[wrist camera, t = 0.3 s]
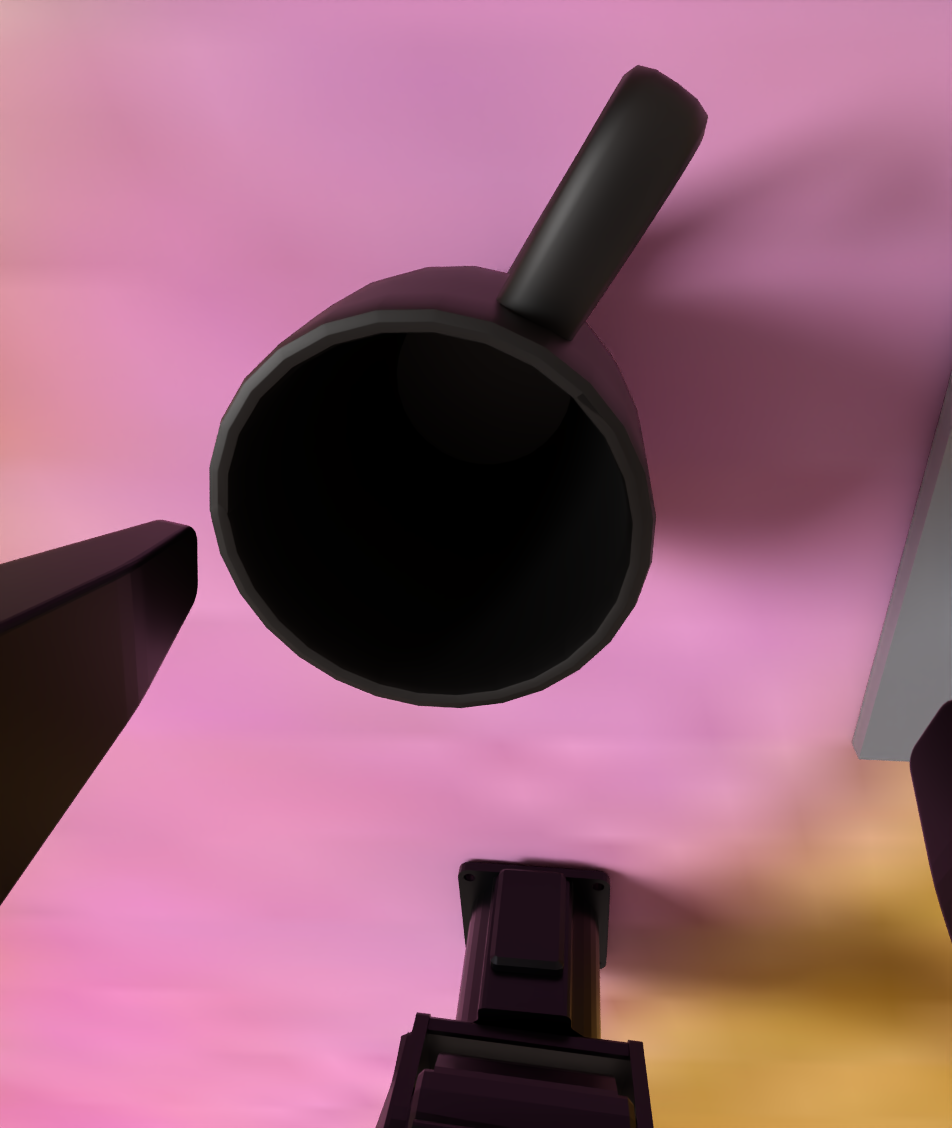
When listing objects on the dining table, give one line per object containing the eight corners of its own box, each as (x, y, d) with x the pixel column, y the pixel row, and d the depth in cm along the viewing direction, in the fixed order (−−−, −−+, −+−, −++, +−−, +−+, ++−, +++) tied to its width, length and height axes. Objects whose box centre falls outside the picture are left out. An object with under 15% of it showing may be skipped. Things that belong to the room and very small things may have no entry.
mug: (788, 199, 18) (949, 267, 10) (529, 551, 24) (502, 768, 16) (502, -4, 17) (428, -111, 9) (303, 421, 23) (150, 589, 15)
